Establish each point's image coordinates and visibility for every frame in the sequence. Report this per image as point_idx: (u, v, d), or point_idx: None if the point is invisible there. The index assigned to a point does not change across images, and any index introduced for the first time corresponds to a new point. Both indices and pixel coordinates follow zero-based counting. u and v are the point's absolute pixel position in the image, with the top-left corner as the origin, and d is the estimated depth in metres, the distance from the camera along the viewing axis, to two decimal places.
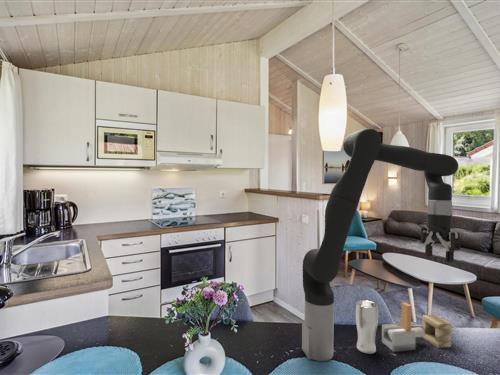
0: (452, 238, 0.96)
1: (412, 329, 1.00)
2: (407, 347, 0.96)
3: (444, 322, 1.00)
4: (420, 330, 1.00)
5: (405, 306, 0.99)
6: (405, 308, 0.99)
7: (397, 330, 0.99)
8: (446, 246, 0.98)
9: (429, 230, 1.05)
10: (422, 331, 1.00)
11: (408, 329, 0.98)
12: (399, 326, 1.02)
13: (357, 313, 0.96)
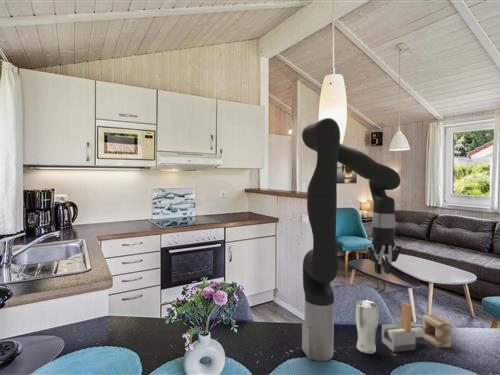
0: (399, 251, 1.05)
1: (412, 329, 1.00)
2: (407, 347, 0.96)
3: (444, 322, 1.00)
4: (420, 330, 1.00)
5: (405, 306, 0.99)
6: (405, 308, 0.99)
7: (397, 330, 0.99)
8: (390, 259, 1.04)
9: (377, 244, 1.03)
10: (422, 331, 1.00)
11: (408, 329, 0.98)
12: (399, 326, 1.02)
13: (357, 313, 0.96)
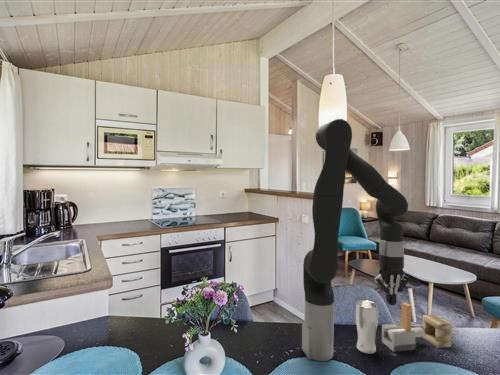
0: (406, 282, 0.98)
1: (412, 329, 1.00)
2: (407, 347, 0.96)
3: (444, 322, 1.00)
4: (420, 330, 1.00)
5: (405, 306, 0.99)
6: (405, 308, 0.99)
7: (397, 330, 0.99)
8: (396, 289, 0.98)
9: (385, 274, 0.97)
10: (422, 331, 1.00)
11: (408, 329, 0.98)
12: (399, 326, 1.02)
13: (357, 313, 0.96)
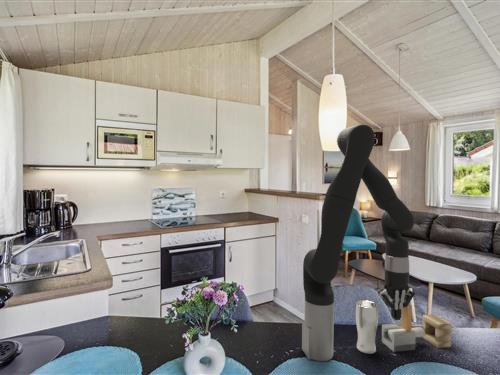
0: (411, 297, 0.99)
1: (412, 329, 1.00)
2: (407, 347, 0.96)
3: (444, 322, 1.00)
4: (420, 330, 1.00)
5: None
6: (405, 308, 0.99)
7: (397, 330, 0.99)
8: (401, 304, 0.98)
9: (390, 289, 0.97)
10: (422, 331, 1.00)
11: (408, 329, 0.98)
12: (399, 326, 1.02)
13: (357, 313, 0.96)
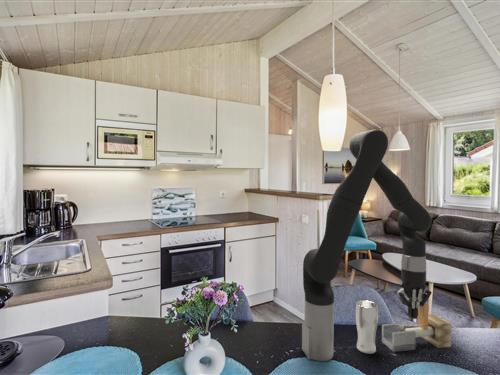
0: (428, 296, 1.00)
1: (429, 328, 1.01)
2: (407, 347, 0.96)
3: (444, 322, 1.00)
4: None
5: None
6: (422, 306, 1.00)
7: (414, 329, 1.00)
8: (418, 303, 0.99)
9: (407, 288, 0.99)
10: None
11: (425, 328, 1.00)
12: (399, 326, 1.02)
13: (357, 313, 0.96)
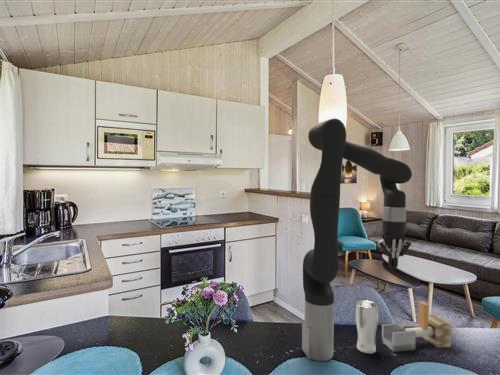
0: (407, 247, 1.04)
1: (429, 328, 1.01)
2: (407, 347, 0.96)
3: (444, 322, 1.00)
4: None
5: (421, 305, 1.01)
6: (422, 306, 1.00)
7: (414, 329, 1.00)
8: (398, 253, 1.03)
9: (387, 238, 1.02)
10: None
11: (425, 328, 1.00)
12: (399, 326, 1.02)
13: (357, 313, 0.96)
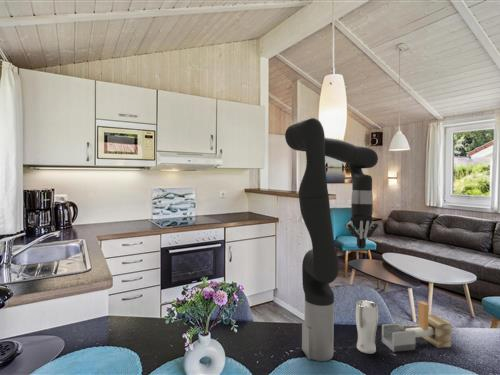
0: (375, 228, 1.09)
1: (429, 328, 1.01)
2: (407, 347, 0.96)
3: (444, 322, 1.00)
4: None
5: (421, 305, 1.01)
6: (422, 306, 1.00)
7: (414, 329, 1.00)
8: (365, 234, 1.09)
9: (355, 220, 1.08)
10: None
11: (425, 328, 1.00)
12: (399, 326, 1.02)
13: (357, 313, 0.96)
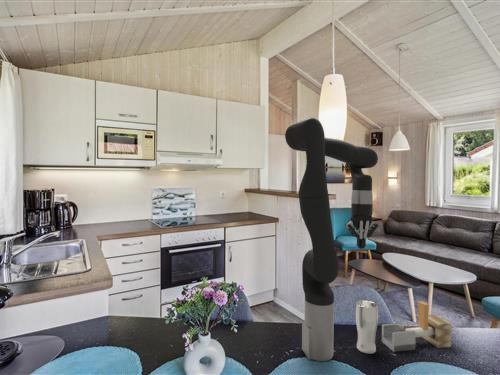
0: (375, 228, 1.09)
1: (429, 328, 1.01)
2: (407, 347, 0.96)
3: (444, 322, 1.00)
4: None
5: (421, 305, 1.01)
6: (422, 306, 1.00)
7: (414, 329, 1.00)
8: (365, 234, 1.09)
9: (355, 220, 1.08)
10: None
11: (425, 328, 1.00)
12: (399, 326, 1.02)
13: (357, 313, 0.96)
